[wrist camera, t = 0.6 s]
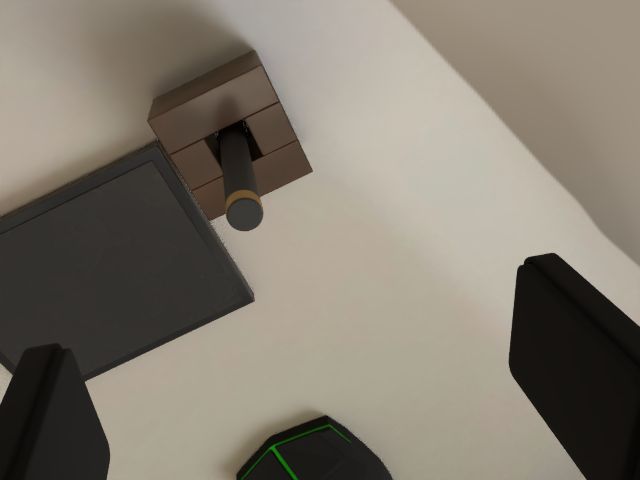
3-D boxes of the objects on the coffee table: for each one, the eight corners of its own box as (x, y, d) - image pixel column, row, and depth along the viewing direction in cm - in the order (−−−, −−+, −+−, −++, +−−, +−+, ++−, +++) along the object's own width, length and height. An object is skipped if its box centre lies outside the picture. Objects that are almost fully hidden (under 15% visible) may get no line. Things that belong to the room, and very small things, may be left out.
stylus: (213, 118, 32) (219, 208, 21) (235, 107, 31) (253, 192, 21) (225, 140, 32) (237, 238, 22) (247, 129, 32) (270, 222, 22)
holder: (152, 99, 30) (146, 120, 27) (255, 49, 30) (262, 63, 27) (208, 192, 34) (209, 221, 30) (301, 147, 33) (313, 171, 30)
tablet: (-90, 261, 32) (-98, 270, 31) (158, 140, 32) (157, 145, 31) (43, 393, 38) (40, 404, 37) (254, 293, 38) (255, 302, 37)
